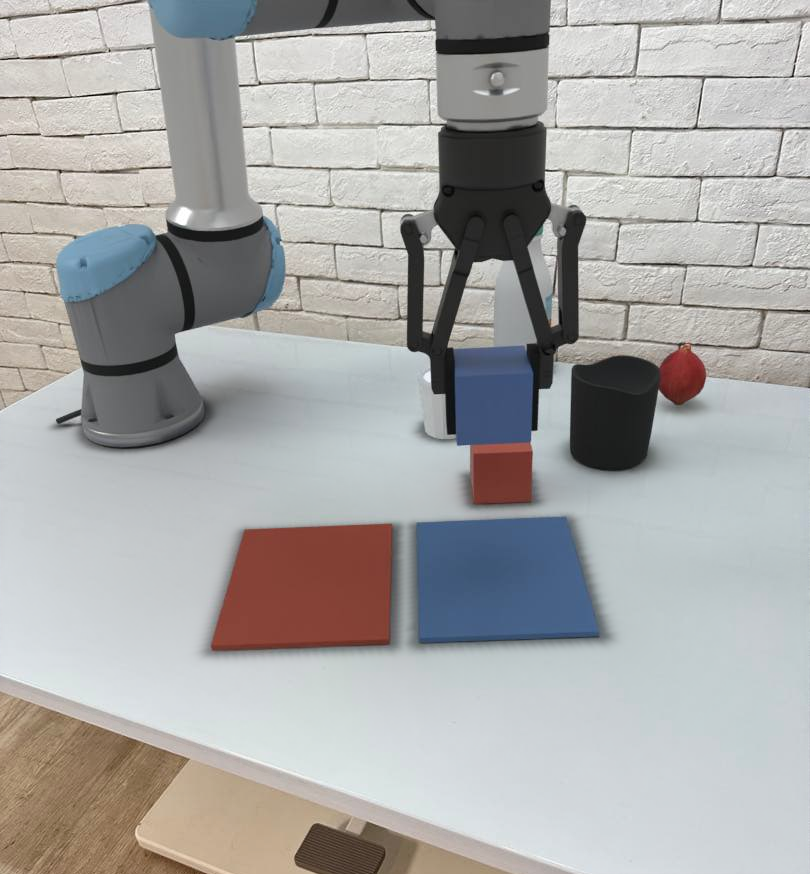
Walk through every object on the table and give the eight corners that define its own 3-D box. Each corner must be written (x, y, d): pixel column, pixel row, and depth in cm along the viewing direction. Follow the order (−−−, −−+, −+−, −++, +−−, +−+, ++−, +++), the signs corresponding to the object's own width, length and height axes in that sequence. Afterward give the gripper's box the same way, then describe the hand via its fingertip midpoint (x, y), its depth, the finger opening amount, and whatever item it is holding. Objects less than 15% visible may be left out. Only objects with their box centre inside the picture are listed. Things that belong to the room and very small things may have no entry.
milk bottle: (534, 383, 115) (540, 229, 104) (483, 373, 118) (484, 224, 107) (558, 363, 120) (565, 215, 109) (508, 354, 124) (511, 210, 113)
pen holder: (646, 477, 92) (657, 391, 87) (559, 467, 95) (564, 384, 90) (654, 439, 100) (664, 357, 94) (573, 431, 102) (578, 351, 97)
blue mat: (419, 643, 71) (418, 637, 71) (417, 527, 86) (416, 522, 86) (599, 636, 71) (599, 631, 71) (565, 521, 86) (565, 516, 86)
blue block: (456, 446, 69) (455, 376, 66) (453, 415, 74) (452, 348, 71) (531, 442, 69) (533, 372, 66) (522, 411, 74) (524, 345, 71)
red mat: (211, 650, 72) (210, 645, 72) (245, 534, 87) (244, 529, 87) (389, 644, 71) (388, 638, 71) (392, 528, 86) (392, 523, 86)
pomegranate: (650, 411, 106) (657, 349, 101) (657, 393, 110) (664, 333, 106) (698, 417, 104) (708, 354, 99) (703, 398, 108) (713, 337, 104)
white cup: (471, 443, 101) (471, 388, 97) (414, 440, 102) (412, 386, 99) (479, 417, 107) (479, 365, 103) (425, 415, 108) (423, 363, 104)
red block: (473, 504, 90) (473, 453, 86) (470, 476, 95) (469, 427, 91) (531, 501, 89) (532, 451, 86) (524, 474, 94) (525, 424, 91)
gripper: (352, 137, 56) (376, 451, 69) (643, 120, 55) (613, 440, 68) (357, 121, 62) (379, 412, 75) (619, 106, 62) (596, 401, 74)
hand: (490, 425), depth 71 cm, fingers closed on blue block, 6 cm apart
